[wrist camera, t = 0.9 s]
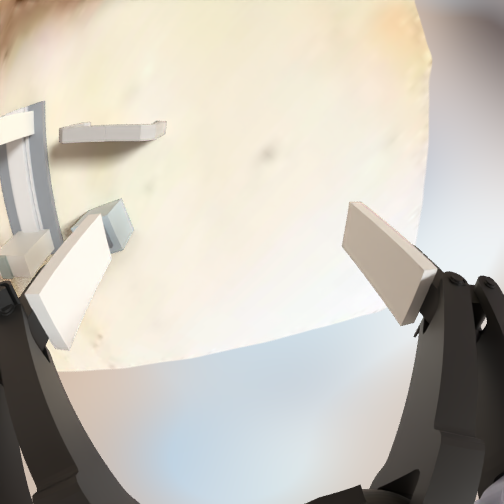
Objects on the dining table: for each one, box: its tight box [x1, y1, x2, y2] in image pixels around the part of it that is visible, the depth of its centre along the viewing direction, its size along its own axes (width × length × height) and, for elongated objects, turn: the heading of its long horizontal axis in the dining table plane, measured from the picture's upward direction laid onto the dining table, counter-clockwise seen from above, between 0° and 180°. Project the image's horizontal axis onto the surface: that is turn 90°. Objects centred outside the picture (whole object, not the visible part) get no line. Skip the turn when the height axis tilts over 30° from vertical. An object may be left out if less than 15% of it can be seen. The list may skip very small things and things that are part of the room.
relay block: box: [71, 198, 134, 254], centre depth 32 cm, size 5×6×7 cm
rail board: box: [0, 101, 64, 254], centre depth 28 cm, size 24×11×2 cm, turn 177°
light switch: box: [59, 121, 167, 143], centre depth 25 cm, size 2×12×8 cm, turn 81°
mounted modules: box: [0, 111, 55, 279], centre depth 25 cm, size 22×8×8 cm, turn 177°
